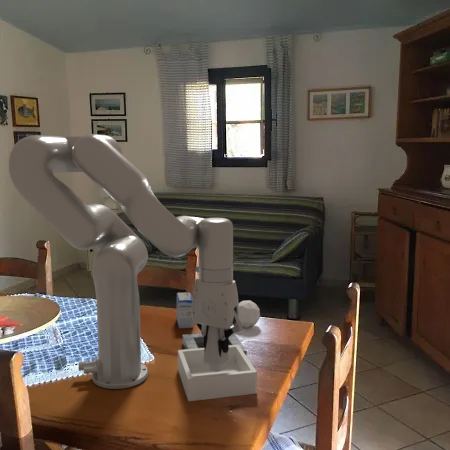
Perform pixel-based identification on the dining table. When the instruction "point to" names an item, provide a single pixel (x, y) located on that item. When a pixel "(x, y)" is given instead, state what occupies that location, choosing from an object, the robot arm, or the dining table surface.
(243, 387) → the bin
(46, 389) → the dining table surface
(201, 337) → the collar block
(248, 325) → the perfume bottle
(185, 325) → the medicine box
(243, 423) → the dining table surface
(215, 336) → the salt shaker
